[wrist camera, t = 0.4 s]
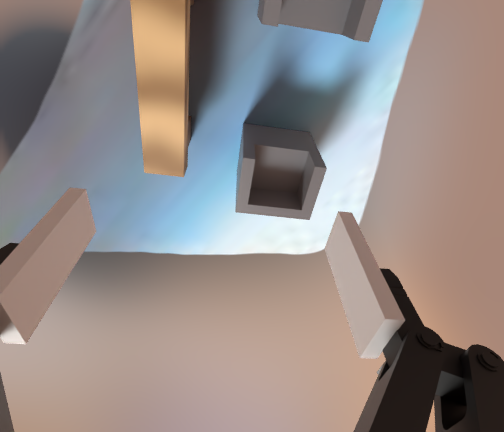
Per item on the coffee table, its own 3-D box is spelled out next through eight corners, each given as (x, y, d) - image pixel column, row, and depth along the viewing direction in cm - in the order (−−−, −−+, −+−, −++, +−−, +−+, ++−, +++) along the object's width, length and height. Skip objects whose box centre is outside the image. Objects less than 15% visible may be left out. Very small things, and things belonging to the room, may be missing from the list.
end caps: (269, -76, 26) (279, -104, 18) (361, -56, 27) (407, -75, 19) (237, 170, 40) (235, 212, 32) (297, 177, 41) (309, 219, 33)
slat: (136, -60, 22) (125, -65, 20) (191, -49, 22) (185, -53, 20) (150, 161, 32) (144, 172, 30) (187, 165, 33) (183, 177, 31)
